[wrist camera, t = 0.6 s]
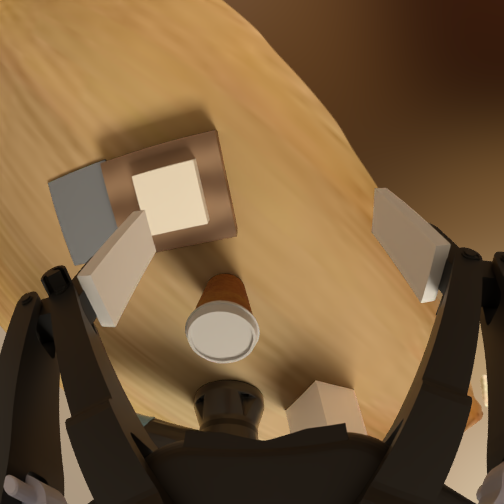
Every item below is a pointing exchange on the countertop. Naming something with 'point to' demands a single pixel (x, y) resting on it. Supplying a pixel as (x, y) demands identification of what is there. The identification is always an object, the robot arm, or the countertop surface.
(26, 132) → the countertop surface
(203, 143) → the walnut board
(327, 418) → the milk
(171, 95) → the countertop surface
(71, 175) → the rubber mat
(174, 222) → the coaster
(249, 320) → the disposable coffee cup
